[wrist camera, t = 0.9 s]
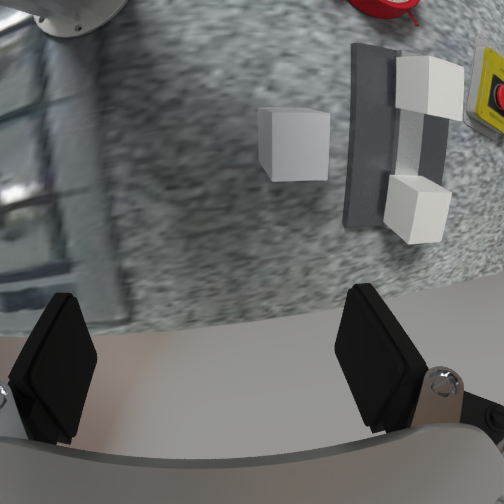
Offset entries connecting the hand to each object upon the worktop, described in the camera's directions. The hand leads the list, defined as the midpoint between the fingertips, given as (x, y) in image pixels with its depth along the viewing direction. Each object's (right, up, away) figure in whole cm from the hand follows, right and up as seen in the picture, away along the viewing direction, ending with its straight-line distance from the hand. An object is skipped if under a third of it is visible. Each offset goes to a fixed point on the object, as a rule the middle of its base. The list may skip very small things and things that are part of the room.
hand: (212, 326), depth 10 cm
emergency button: (+36, +27, +21) cm, 49 cm away
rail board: (+19, +16, +23) cm, 34 cm away
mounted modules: (+20, +15, +21) cm, 33 cm away
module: (+4, +15, +22) cm, 27 cm away
